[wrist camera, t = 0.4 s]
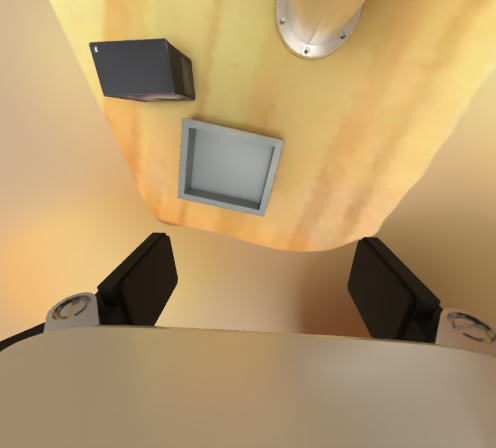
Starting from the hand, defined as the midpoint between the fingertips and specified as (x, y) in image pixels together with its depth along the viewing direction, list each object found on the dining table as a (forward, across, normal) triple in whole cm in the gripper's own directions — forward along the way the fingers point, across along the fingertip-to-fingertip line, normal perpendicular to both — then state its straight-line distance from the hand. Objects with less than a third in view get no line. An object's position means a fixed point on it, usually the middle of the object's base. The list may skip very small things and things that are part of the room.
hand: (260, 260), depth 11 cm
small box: (+35, +18, -13) cm, 41 cm away
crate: (+35, +7, +2) cm, 35 cm away
